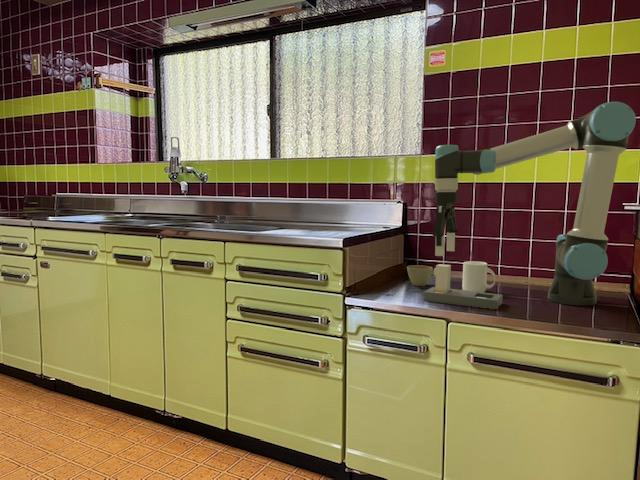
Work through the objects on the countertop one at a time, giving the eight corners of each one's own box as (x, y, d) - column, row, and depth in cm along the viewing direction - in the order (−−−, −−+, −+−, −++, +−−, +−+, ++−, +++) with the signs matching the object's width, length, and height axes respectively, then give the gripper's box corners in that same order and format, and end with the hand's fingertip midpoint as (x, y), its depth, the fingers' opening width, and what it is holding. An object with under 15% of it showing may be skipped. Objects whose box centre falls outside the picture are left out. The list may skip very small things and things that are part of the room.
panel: (502, 303, 164) (502, 294, 164) (496, 309, 156) (497, 300, 155) (432, 294, 176) (432, 286, 176) (423, 300, 168) (424, 291, 167)
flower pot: (431, 288, 188) (431, 269, 187) (405, 286, 191) (405, 268, 190) (432, 283, 197) (433, 265, 197) (408, 281, 200) (408, 264, 199)
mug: (491, 295, 176) (493, 266, 175) (458, 291, 182) (460, 263, 181) (498, 291, 183) (499, 263, 182) (466, 287, 190) (467, 260, 188)
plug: (449, 299, 170) (450, 265, 169) (446, 301, 167) (447, 266, 165) (435, 297, 173) (436, 263, 171) (432, 299, 169) (433, 265, 168)
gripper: (445, 191, 178) (444, 248, 180) (423, 191, 156) (423, 257, 159) (466, 190, 174) (465, 249, 176) (446, 191, 153) (446, 258, 155)
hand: (445, 253), depth 167 cm, fingers open, 13 cm apart
